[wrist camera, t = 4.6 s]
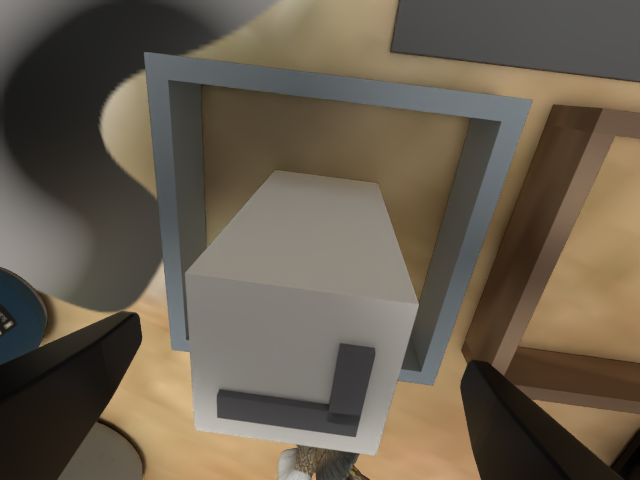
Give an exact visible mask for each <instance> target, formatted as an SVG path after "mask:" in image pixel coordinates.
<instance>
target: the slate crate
mask: <svg viewBox="0 0 640 480" xmlns="http://www.w3.org/2000/svg"><path fill="white" fill-rule="evenodd" d="M144 59H145V70H146V80H147V91H148V102H149V112H150V123H151V134H152V144H153V155H154V166H155V176H156V187H157V198H158V208H159V218H160V230H161V240H162V251H163V262H164V272H165V283H166V294H167V304H168V315H169V326H170V336H171V347H172V350H178V351H185V352H190V345H189V329H188V314H187V298H186V283H185V273H186V271H187V270H188V269H189V268H190V267H191V266H192V265H193V263H194V262H195V261H196V260H197V259H198V258H199V256H200V255H201V254H202V253H203V252H204V251H205V250H206V226H205V195H204V165H203V134H202V103H201V84H206V85H214V86H222V87H230V88H238V89H246V90H254V91H262V92H270V93H278V94H286V95H294V96H302V97H310V98H318V99H326V100H334V101H342V102H350V103H358V104H366V105H374V106H382V107H390V108H398V109H407V110H415V111H423V112H431V113H439V114H447V115H455V116H463V117H471V118H472V119H471V122H470V126H469V129H468V133H467V136H466V140H465V143H464V147H463V151H462V154H461V158H460V161H459V165H458V168H457V172H456V175H455V179H454V182H453V186H452V189H451V193H450V196H449V200H448V203H447V207H446V210H445V214H444V217H443V221H442V224H441V228H440V231H439V235H438V238H437V242H436V245H435V249H434V252H433V256H432V259H431V263H430V266H429V270H428V273H427V277H426V280H425V284H424V287H423V291H422V294H421V298H420V301H419V307H418V310H417V314H416V317H415V321H414V324H413V328H412V331H411V335H410V338H409V342H408V345H407V349H406V352H405V356H404V359H403V363H402V366H401V370H400V373H399V377H398V380H397V381H403V382H410V383H417V384H425V385H432V386H433V384H434V382H435V379H436V376H437V373H438V370H439V367H440V364H441V362H442V359H443V356H444V353H445V350H446V347H447V344H448V342H449V339H450V336H451V333H452V330H453V327H454V324H455V321H456V319H457V316H458V313H459V310H460V307H461V304H462V301H463V299H464V296H465V293H466V290H467V287H468V284H469V281H470V279H471V276H472V273H473V270H474V267H475V264H476V261H477V259H478V256H479V253H480V250H481V247H482V244H483V241H484V238H485V236H486V233H487V230H488V227H489V224H490V221H491V218H492V216H493V213H494V210H495V207H496V204H497V201H498V198H499V196H500V193H501V190H502V187H503V184H504V181H505V178H506V176H507V173H508V170H509V167H510V164H511V161H512V158H513V155H514V153H515V150H516V147H517V144H518V141H519V138H520V135H521V133H522V130H523V127H524V124H525V121H526V118H527V115H528V113H529V110H530V107H531V104H532V101H533V100H530V99H522V98H514V97H506V96H498V95H490V94H482V93H473V92H465V91H457V90H449V89H441V88H433V87H425V86H417V85H409V84H401V83H393V82H384V81H376V80H368V79H360V78H352V77H344V76H336V75H328V74H320V73H312V72H303V71H295V70H287V69H279V68H271V67H263V66H255V65H247V64H239V63H231V62H222V61H214V60H206V59H198V58H190V57H182V56H174V55H166V54H158V53H150V52H144Z"/></svg>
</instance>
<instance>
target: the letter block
mask: <svg viewBox="0 0 640 480" xmlns="http://www.w3.org/2000/svg"><path fill="white" fill-rule="evenodd" d="M185 283H186V298H187V314H188V329H189V345H190V360H191V376H192V391H193V407H194V422H195V430H198V431H205V432H212V433H220V434H227V435H234V436H241V437H248V438H255V439H262V440H269V441H276V442H283V443H290V444H297V445H304V446H311V447H318V448H325V449H332V450H339V451H346V452H353V453H360V454H367V455H374V456H376V454H377V450H378V447H379V443H380V440H381V436H382V433H383V429H384V426H385V422H386V419H387V415H388V412H389V408H390V405H391V401H392V398H393V394H394V391H395V387H396V384H397V380H398V377H399V373H400V370H401V366H402V363H403V359H404V356H405V352H406V349H407V345H408V342H409V338H410V335H411V331H412V328H413V324H414V321H415V317H416V314H417V310H418V307H419V303H418V300H417V297H416V294H415V291H414V288H413V285H412V282H411V279H410V277H409V274H408V271H407V268H406V265H405V262H404V259H403V256H402V253H401V250H400V247H399V244H398V241H397V238H396V235H395V232H394V229H393V226H392V224H391V221H390V218H389V215H388V212H387V209H386V206H385V203H384V200H383V197H382V194H381V191H380V188H379V185H378V183H374V182H366V181H358V180H350V179H342V178H335V177H327V176H319V175H311V174H304V173H296V172H288V171H280V170H274V172H273V173H272V174H271V175H270V176H269V177H268V178H267V180H266V181H265V182H264V183H263V184H262V185H261V186H260V188H259V189H258V190H257V191H256V192H255V193H254V195H253V196H252V197H251V198H250V199H249V200H248V201H247V203H246V204H245V205H244V206H243V207H242V208H241V209H240V211H239V212H238V213H237V214H236V215H235V216H234V217H233V219H232V220H231V221H230V222H229V223H228V224H227V226H226V227H225V228H224V229H223V230H222V231H221V232H220V234H219V235H218V236H217V237H216V238H215V239H214V240H213V242H212V243H211V244H210V245H209V246H208V247H207V248H206V250H205V251H204V252H203V253H202V254H201V255H200V256H199V258H198V259H197V260H196V261H195V262H194V263H193V265H192V266H191V267H190V268H189V269H188V270H187V271H186V273H185Z"/></svg>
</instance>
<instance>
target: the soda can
mask: <svg viewBox="0 0 640 480" xmlns="http://www.w3.org/2000/svg"><path fill="white" fill-rule="evenodd" d="M47 318H48V317H47V310H46V307H45V304H44V302H43V300H42V298H41V297H40V295H39V294H38V293H37V291H36V290H35V289H34V288H33V287H32V286H31V285H30V284H29V283H27V282H26V281H25V280H24V279H23V278H21V277H20V276H18V275H17V274H15V273H13V272H11V271H9V270H7V269H5V268H2V267H0V365H1V364H3V363H5V362H8V361H10V360H12V359H14V358H17V357H19V356H21V355H23V354H26V353H28V352H30V351H32V350H35V349H37V348H38V347H39V345H40V343H41V341H42V338H43V335H44V331H45V328H46V324H47Z"/></svg>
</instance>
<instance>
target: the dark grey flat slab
mask: <svg viewBox="0 0 640 480" xmlns="http://www.w3.org/2000/svg"><path fill="white" fill-rule="evenodd" d="M390 52H395V53H403V54H411V55H419V56H428V57H436V58H444V59H452V60H460V61H469V62H477V63H485V64H493V65H501V66H510V67H518V68H526V69H534V70H542V71H551V72H559V73H567V74H575V75H583V76H591V77H600V78H608V79H616V80H624V81H632V82H640V0H399V5H398V11H397V16H396V22H395V28H394V33H393V39H392V45H391V51H390Z"/></svg>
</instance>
